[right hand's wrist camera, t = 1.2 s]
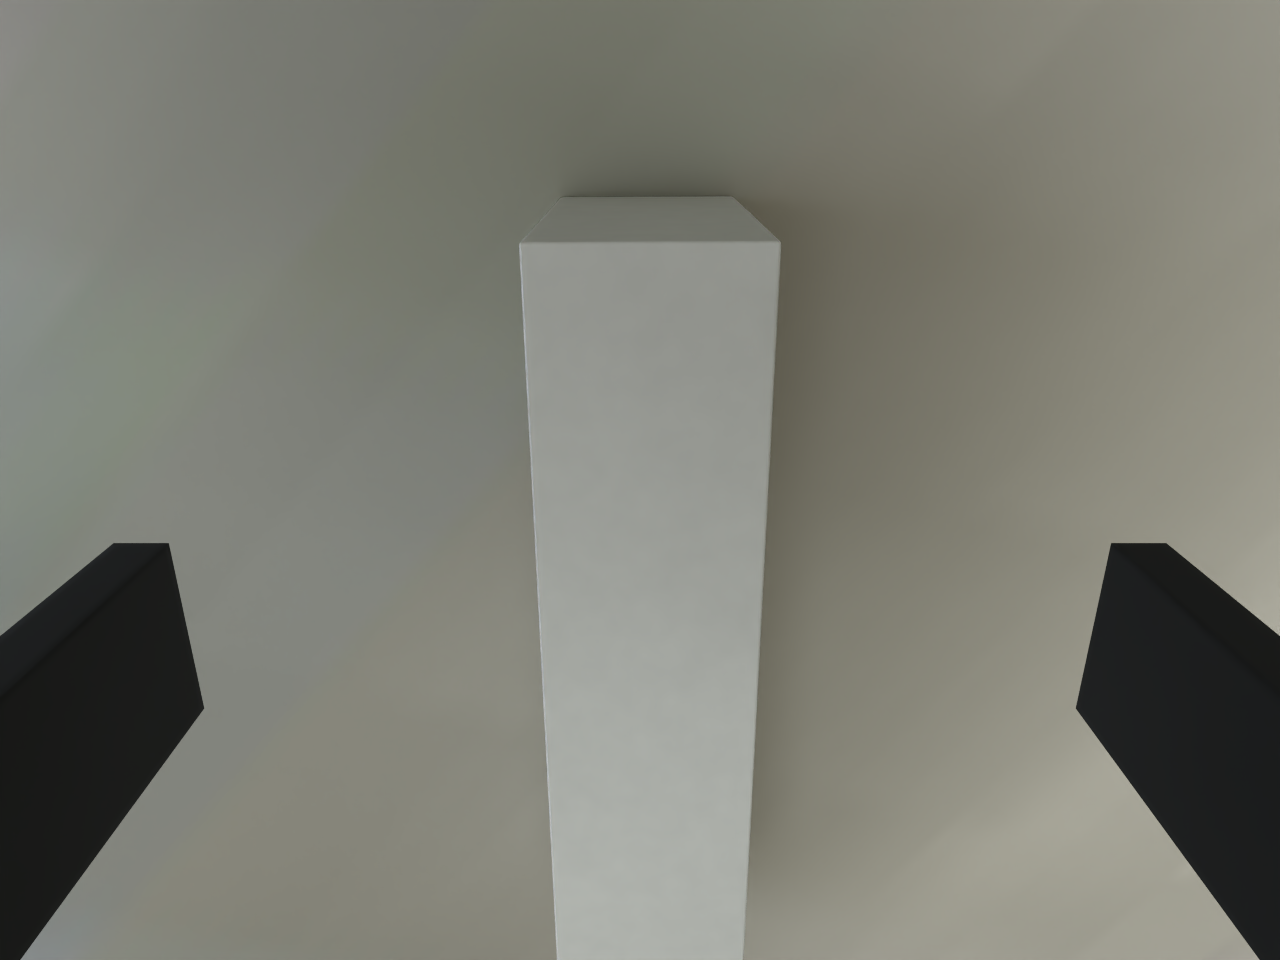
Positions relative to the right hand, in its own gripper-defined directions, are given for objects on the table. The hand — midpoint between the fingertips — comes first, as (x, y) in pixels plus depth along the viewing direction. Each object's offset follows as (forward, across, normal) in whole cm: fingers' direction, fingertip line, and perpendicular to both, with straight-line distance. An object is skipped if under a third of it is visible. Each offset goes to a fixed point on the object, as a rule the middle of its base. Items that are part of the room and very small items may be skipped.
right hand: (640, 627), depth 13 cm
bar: (+16, 0, -8) cm, 17 cm away
